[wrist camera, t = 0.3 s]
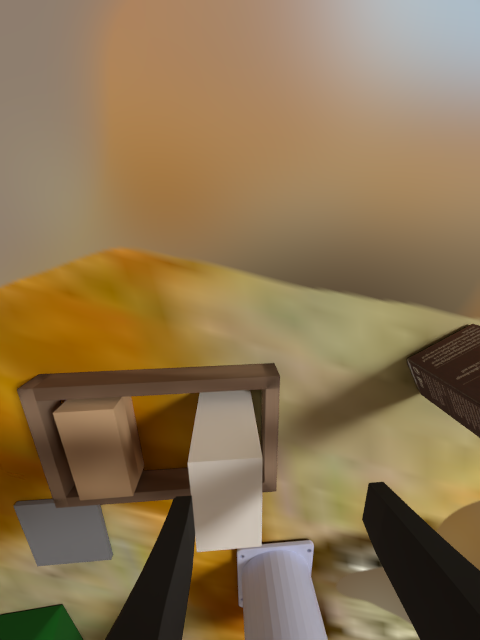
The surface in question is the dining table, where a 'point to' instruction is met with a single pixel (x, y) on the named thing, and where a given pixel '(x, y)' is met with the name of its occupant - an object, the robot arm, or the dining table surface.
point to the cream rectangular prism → (226, 472)
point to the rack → (153, 484)
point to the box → (452, 376)
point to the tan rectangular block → (101, 446)
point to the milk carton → (39, 625)
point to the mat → (64, 532)
